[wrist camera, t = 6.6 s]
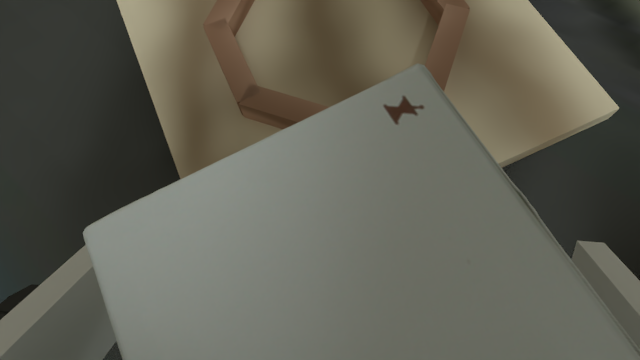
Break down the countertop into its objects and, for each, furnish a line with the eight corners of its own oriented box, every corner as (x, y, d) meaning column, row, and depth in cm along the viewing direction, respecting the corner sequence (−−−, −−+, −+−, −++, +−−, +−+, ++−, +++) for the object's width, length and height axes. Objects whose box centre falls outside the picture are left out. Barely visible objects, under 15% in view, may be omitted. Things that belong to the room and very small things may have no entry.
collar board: (409, -122, 29) (414, -158, 27) (608, 118, 22) (634, 93, 20) (114, -14, 27) (96, -45, 25) (226, 294, 20) (212, 286, 18)
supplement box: (233, 303, 19) (65, 213, 8) (381, 226, 20) (430, 44, 9) (308, 483, 17) (225, 754, 5) (475, 385, 18) (723, 427, 6)
